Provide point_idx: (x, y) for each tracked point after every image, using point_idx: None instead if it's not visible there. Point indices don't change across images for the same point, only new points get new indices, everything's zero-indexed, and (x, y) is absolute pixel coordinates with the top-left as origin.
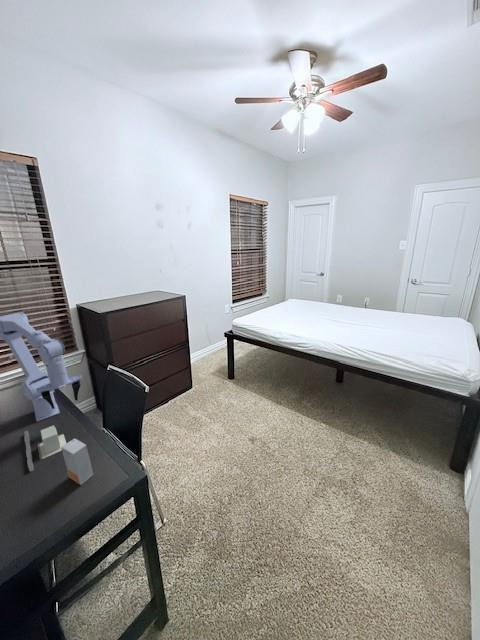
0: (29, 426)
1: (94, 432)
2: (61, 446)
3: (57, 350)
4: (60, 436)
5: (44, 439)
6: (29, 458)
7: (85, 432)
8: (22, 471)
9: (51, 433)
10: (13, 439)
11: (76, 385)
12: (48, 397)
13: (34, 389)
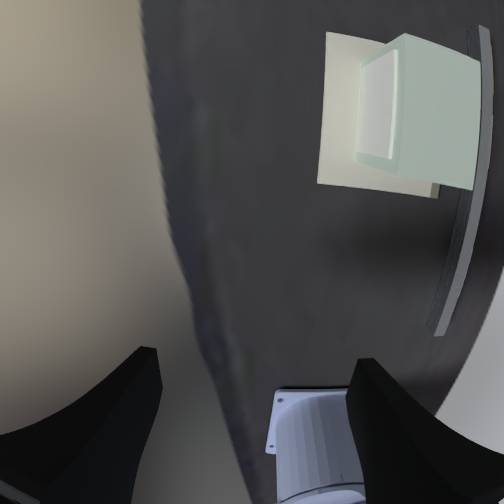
0: (400, 373)
1: (163, 62)
2: (353, 69)
3: None
4: (337, 170)
5: (469, 59)
6: (487, 90)
7: (205, 99)
8: (495, 65)
9: (433, 75)
10: (466, 322)
11: (7, 489)
12: (468, 468)
13: None
